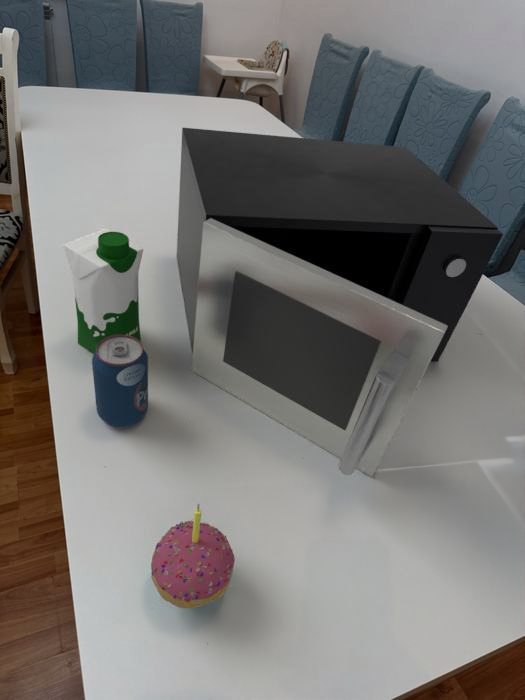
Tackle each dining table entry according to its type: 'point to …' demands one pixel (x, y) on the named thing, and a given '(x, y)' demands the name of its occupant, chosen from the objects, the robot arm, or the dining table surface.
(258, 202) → the microwave
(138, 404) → the soda can
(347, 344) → the microwave door
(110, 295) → the milk carton
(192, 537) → the cupcake
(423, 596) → the dining table surface
